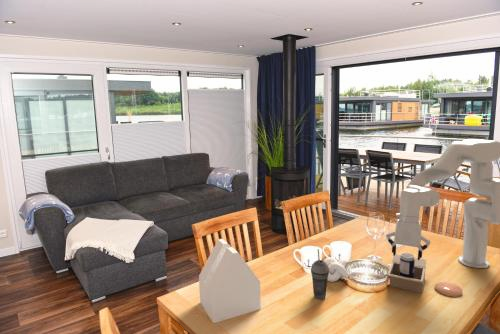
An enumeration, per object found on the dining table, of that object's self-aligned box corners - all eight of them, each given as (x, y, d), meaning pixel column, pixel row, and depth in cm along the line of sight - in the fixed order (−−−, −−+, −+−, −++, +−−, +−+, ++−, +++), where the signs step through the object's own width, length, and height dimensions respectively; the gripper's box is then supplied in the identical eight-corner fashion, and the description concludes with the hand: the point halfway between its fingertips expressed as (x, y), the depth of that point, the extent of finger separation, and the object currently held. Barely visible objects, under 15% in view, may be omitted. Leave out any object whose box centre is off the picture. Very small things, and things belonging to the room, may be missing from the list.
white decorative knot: (356, 280, 157) (357, 261, 156) (336, 288, 151) (337, 268, 149) (337, 271, 167) (338, 252, 165) (318, 277, 160) (318, 259, 159)
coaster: (435, 282, 154) (435, 280, 154) (462, 287, 149) (462, 285, 149) (433, 293, 145) (434, 290, 145) (462, 299, 140) (462, 296, 140)
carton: (393, 267, 168) (394, 254, 167) (425, 273, 161) (426, 259, 160) (385, 290, 148) (385, 274, 147) (421, 298, 142) (422, 282, 140)
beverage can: (414, 285, 152) (416, 258, 150) (400, 284, 153) (401, 258, 151) (411, 279, 157) (413, 253, 155) (397, 278, 158) (399, 252, 156)
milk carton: (213, 323, 129) (210, 258, 125) (200, 302, 143) (197, 243, 138) (260, 309, 137) (259, 247, 133) (244, 291, 151) (242, 234, 146)
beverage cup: (318, 303, 139) (318, 255, 136) (306, 295, 146) (307, 249, 142) (332, 298, 143) (333, 251, 139) (321, 290, 149) (321, 245, 146)
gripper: (385, 217, 151) (383, 255, 154) (431, 223, 142) (428, 264, 145) (388, 213, 157) (386, 249, 160) (432, 218, 149) (429, 257, 152)
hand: (406, 256), depth 153 cm, fingers open, 9 cm apart
